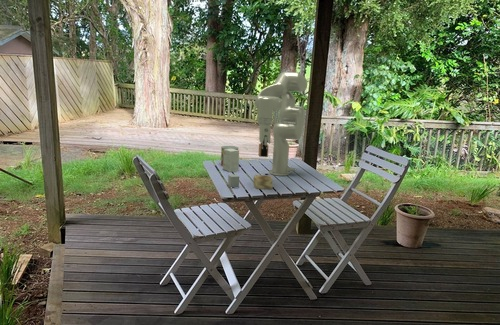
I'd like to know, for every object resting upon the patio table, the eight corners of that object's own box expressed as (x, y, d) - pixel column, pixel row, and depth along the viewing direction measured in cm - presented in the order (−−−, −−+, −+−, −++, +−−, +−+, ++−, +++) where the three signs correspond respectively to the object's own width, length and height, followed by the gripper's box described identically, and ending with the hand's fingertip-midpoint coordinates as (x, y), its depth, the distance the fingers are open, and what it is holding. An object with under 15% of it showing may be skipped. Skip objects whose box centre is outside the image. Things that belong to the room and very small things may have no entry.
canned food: (219, 163, 252) (220, 145, 249) (236, 163, 254) (236, 145, 252) (222, 167, 241) (222, 148, 238) (239, 167, 243) (240, 149, 241)
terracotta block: (266, 155, 201) (267, 144, 200) (267, 156, 197) (268, 145, 195) (258, 154, 200) (259, 143, 199) (259, 156, 196) (260, 145, 195)
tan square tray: (269, 184, 207) (270, 175, 206) (272, 188, 198) (272, 179, 197) (253, 183, 206) (253, 174, 205) (255, 188, 197) (256, 179, 196)
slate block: (235, 185, 202) (236, 174, 201) (238, 187, 198) (239, 176, 196) (228, 185, 200) (228, 174, 199) (230, 188, 196) (231, 176, 195)
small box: (238, 171, 233) (239, 150, 230) (230, 172, 229) (231, 151, 226) (230, 168, 239) (231, 148, 236) (222, 169, 235) (223, 149, 232)
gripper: (274, 123, 187) (272, 159, 191) (269, 119, 203) (267, 152, 207) (260, 123, 186) (258, 158, 190) (256, 119, 202) (254, 152, 206)
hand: (263, 155), depth 198 cm, fingers closed on terracotta block, 4 cm apart
